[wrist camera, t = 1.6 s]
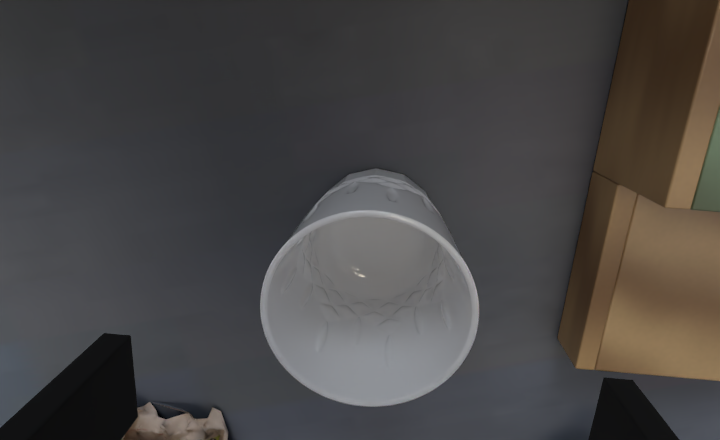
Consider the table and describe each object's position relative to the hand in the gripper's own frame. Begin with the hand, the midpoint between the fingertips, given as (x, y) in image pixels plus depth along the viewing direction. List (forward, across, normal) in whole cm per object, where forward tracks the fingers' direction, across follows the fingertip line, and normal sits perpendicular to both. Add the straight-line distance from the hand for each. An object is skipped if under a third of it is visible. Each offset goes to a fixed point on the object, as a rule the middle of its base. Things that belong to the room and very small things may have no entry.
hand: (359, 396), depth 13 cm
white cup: (+14, 0, 0) cm, 14 cm away
